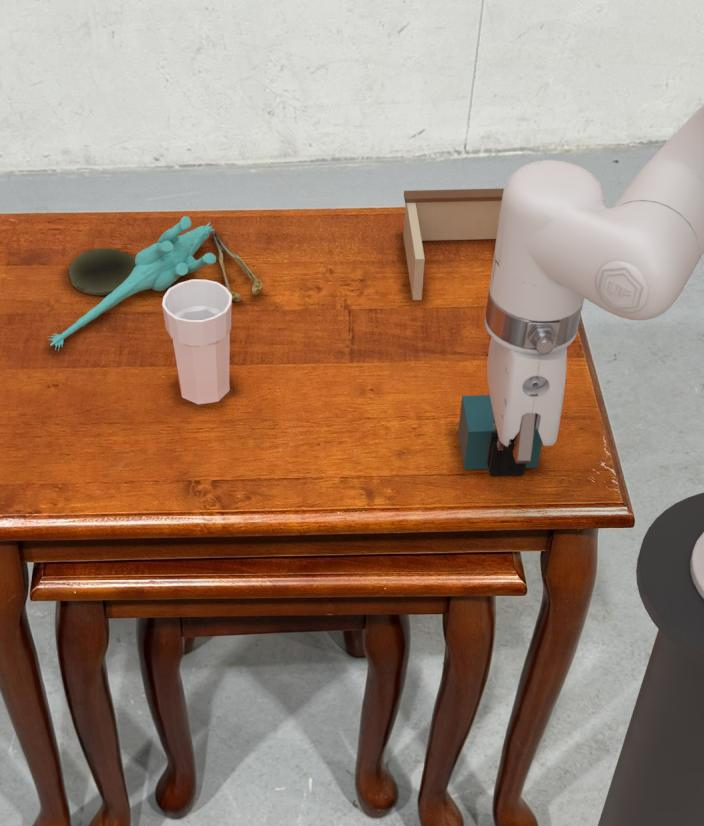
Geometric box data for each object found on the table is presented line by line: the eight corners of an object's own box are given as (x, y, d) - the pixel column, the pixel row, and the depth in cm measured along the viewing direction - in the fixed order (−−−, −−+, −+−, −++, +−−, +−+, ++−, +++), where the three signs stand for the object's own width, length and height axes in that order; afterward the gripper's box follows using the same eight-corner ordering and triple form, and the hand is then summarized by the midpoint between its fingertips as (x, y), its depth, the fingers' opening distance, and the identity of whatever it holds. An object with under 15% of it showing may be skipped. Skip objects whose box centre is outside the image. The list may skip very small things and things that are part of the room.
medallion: (97, 239, 146) (98, 244, 147) (53, 276, 142) (54, 282, 142) (154, 261, 143) (154, 267, 144) (110, 301, 139) (111, 306, 140)
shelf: (524, 297, 140) (531, 251, 135) (410, 300, 140) (413, 254, 135) (508, 233, 148) (514, 187, 144) (401, 236, 148) (403, 190, 144)
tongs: (222, 232, 148) (219, 219, 147) (267, 296, 140) (264, 282, 139) (189, 246, 148) (185, 233, 146) (233, 311, 139) (229, 297, 138)
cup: (229, 413, 127) (223, 325, 119) (164, 405, 128) (154, 317, 120) (243, 370, 132) (238, 283, 124) (180, 362, 132) (172, 275, 125)
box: (537, 468, 121) (544, 429, 118) (463, 470, 121) (468, 431, 118) (529, 431, 125) (535, 393, 121) (457, 433, 125) (462, 395, 121)
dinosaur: (222, 188, 140) (190, 207, 146) (54, 309, 128) (26, 325, 134) (253, 234, 142) (219, 251, 148) (89, 358, 130) (60, 372, 136)
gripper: (597, 371, 98) (560, 531, 111) (563, 254, 109) (533, 413, 122) (500, 373, 98) (474, 532, 111) (474, 255, 108) (454, 414, 122)
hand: (505, 469), depth 116 cm, fingers closed
